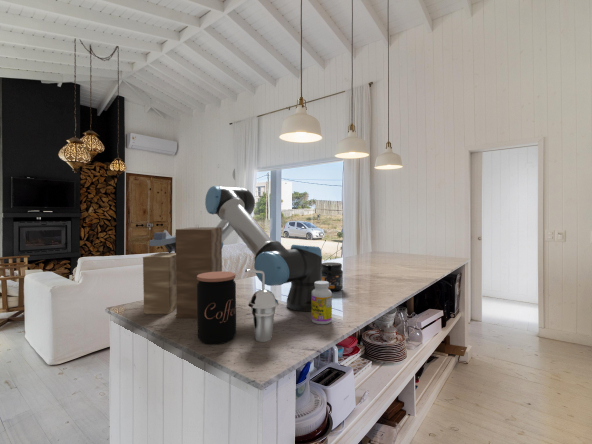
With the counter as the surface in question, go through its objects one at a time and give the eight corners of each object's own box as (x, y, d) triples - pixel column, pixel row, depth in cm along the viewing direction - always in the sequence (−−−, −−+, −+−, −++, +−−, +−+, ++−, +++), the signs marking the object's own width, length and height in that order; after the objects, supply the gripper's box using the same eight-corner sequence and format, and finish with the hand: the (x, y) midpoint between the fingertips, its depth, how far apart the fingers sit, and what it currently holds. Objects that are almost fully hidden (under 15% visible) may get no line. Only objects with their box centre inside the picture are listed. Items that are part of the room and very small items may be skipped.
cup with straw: (279, 344, 87) (278, 270, 86) (245, 345, 86) (244, 270, 86) (278, 332, 95) (277, 265, 95) (247, 333, 95) (246, 265, 94)
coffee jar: (201, 348, 84) (200, 280, 84) (194, 334, 94) (193, 273, 93) (241, 340, 89) (240, 276, 89) (230, 328, 99) (229, 270, 98)
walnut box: (190, 305, 123) (189, 227, 123) (222, 305, 123) (222, 227, 122) (176, 317, 109) (174, 229, 108) (212, 318, 109) (211, 229, 108)
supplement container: (315, 290, 147) (315, 264, 147) (327, 286, 156) (327, 261, 156) (336, 293, 141) (336, 266, 141) (346, 289, 150) (346, 263, 150)
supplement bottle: (307, 321, 105) (307, 282, 105) (319, 316, 110) (319, 279, 110) (323, 326, 100) (323, 285, 100) (335, 321, 105) (335, 282, 105)
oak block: (160, 302, 127) (159, 252, 127) (183, 303, 127) (182, 252, 127) (143, 313, 114) (143, 257, 113) (169, 313, 114) (168, 257, 113)
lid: (172, 240, 133) (172, 230, 133) (181, 240, 133) (181, 230, 133) (149, 245, 113) (149, 233, 113) (160, 245, 113) (160, 233, 113)
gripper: (206, 263, 145) (190, 241, 125) (168, 263, 146) (146, 241, 125) (208, 248, 149) (193, 224, 128) (171, 248, 149) (150, 224, 128)
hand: (170, 233), depth 127 cm, fingers closed on lid, 4 cm apart
